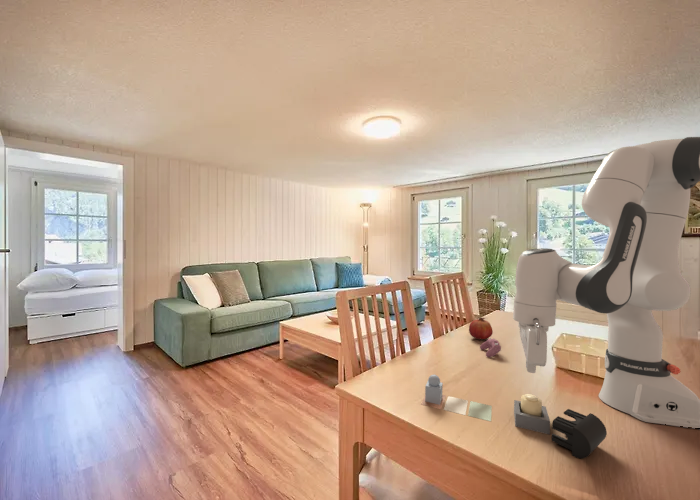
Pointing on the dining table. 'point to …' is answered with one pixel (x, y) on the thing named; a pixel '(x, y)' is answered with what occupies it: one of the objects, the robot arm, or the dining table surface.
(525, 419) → the box
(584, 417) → the end cap
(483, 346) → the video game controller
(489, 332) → the fruit
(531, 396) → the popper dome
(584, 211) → the robot arm
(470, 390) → the dining table surface
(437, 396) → the pawn
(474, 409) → the game board
